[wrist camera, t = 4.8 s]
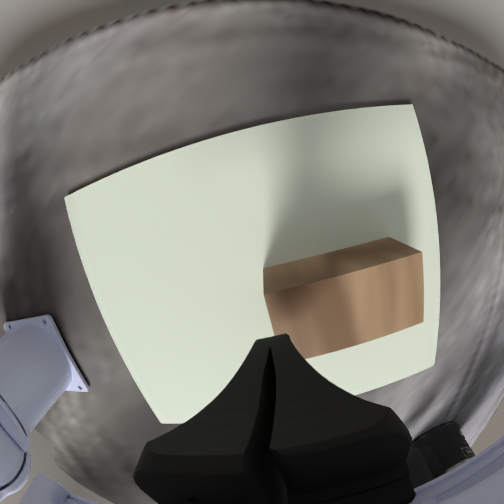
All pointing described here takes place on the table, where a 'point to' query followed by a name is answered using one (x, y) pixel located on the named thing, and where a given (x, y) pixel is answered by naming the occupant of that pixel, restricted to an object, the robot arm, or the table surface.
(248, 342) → the sage mat
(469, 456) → the milk frother
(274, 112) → the table surface
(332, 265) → the walnut block
